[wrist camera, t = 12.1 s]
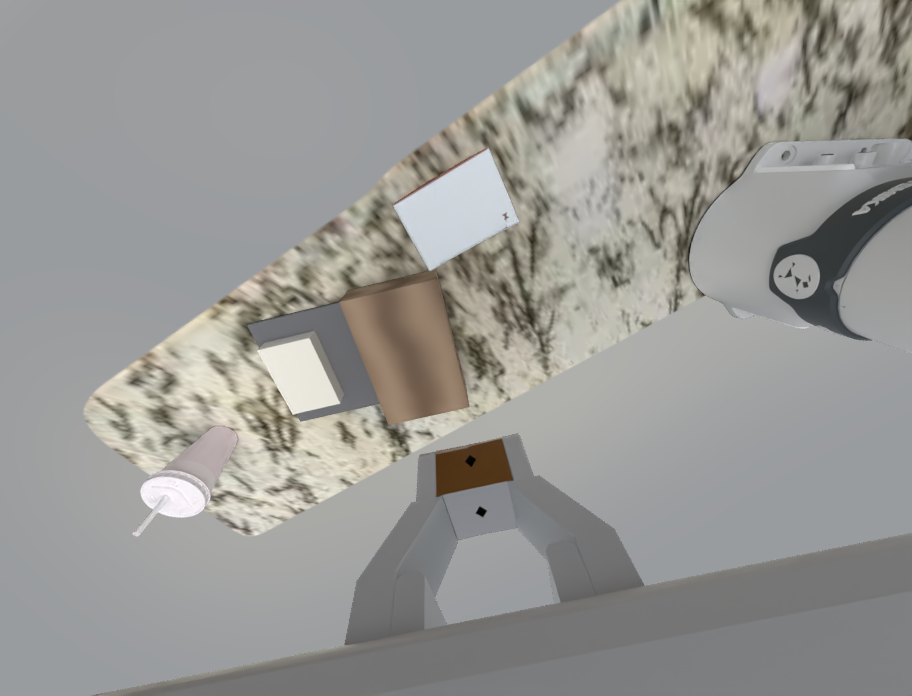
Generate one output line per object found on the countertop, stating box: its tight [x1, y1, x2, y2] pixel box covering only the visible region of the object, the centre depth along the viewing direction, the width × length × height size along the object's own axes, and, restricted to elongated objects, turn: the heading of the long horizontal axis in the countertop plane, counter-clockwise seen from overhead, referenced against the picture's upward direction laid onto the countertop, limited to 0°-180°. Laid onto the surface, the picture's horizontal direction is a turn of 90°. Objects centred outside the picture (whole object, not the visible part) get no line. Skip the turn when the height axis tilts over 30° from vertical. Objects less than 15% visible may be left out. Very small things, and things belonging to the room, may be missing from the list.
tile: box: [257, 331, 344, 414], centre depth 39 cm, size 6×9×2 cm, turn 13°
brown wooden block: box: [339, 269, 469, 425], centre depth 38 cm, size 10×16×4 cm, turn 13°
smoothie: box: [133, 426, 238, 536], centre depth 38 cm, size 6×6×14 cm
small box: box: [393, 148, 519, 271], centre depth 29 cm, size 8×6×10 cm
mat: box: [247, 302, 380, 421], centre depth 40 cm, size 12×14×1 cm
